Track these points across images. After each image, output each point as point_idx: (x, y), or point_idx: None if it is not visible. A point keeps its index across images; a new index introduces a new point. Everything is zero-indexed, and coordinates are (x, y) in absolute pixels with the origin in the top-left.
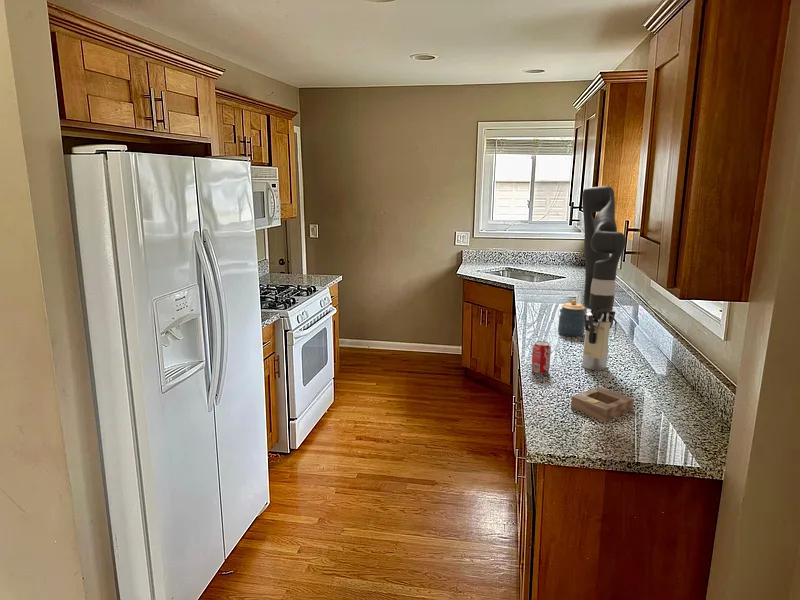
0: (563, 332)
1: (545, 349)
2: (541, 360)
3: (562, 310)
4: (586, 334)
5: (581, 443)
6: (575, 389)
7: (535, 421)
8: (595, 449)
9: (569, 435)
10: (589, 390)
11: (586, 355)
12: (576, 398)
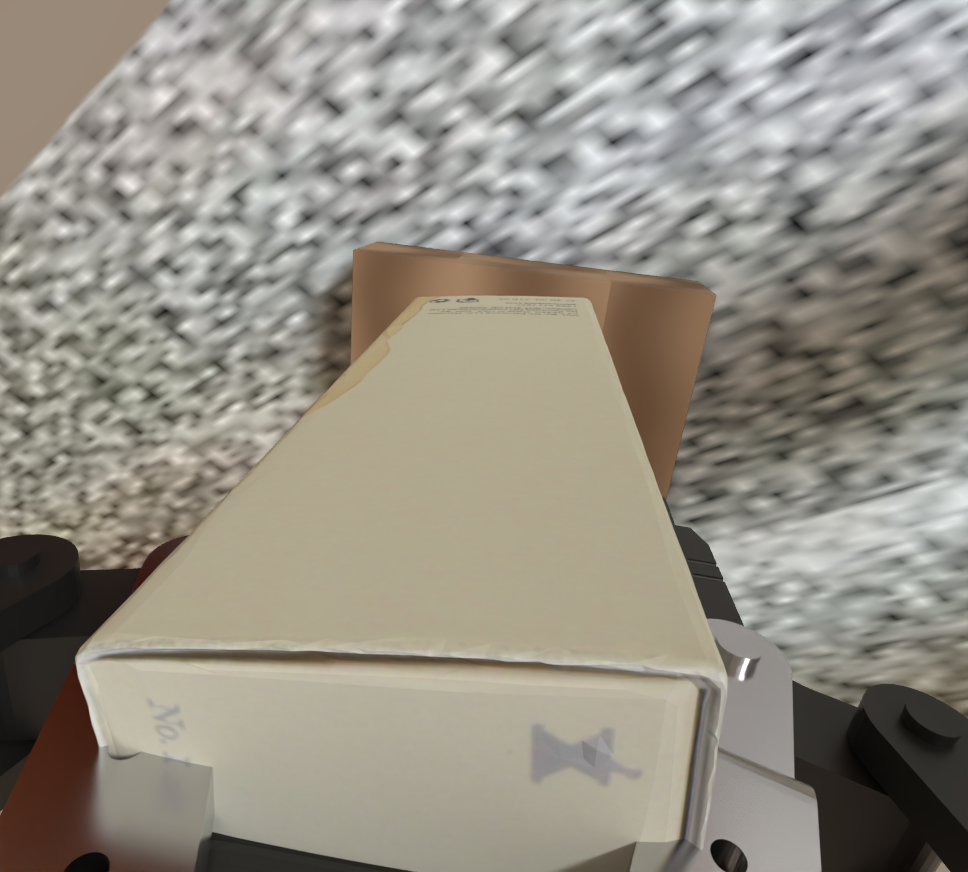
0: None
1: None
2: None
3: None
4: (321, 398)
5: (71, 496)
6: (733, 62)
7: (31, 208)
8: (84, 556)
9: (80, 423)
10: (569, 280)
11: None
12: (353, 290)
